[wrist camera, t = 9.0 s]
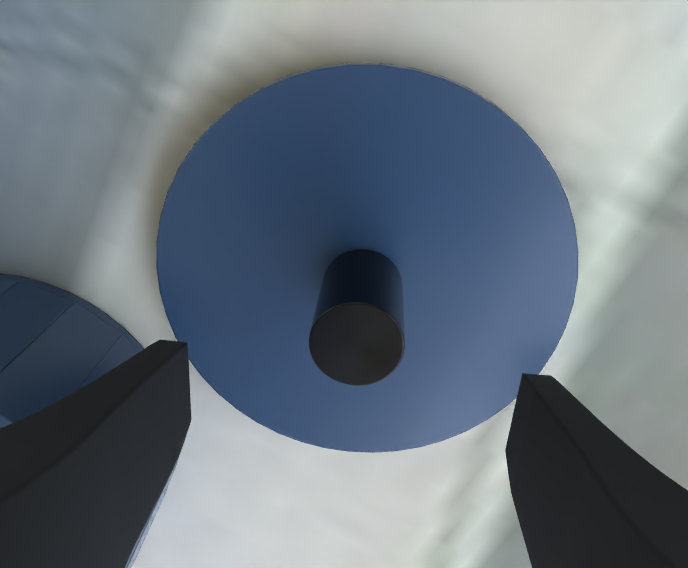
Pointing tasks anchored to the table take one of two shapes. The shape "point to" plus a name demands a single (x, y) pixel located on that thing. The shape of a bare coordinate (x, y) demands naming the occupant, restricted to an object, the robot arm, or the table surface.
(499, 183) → the lid
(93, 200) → the table surface
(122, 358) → the bowl
